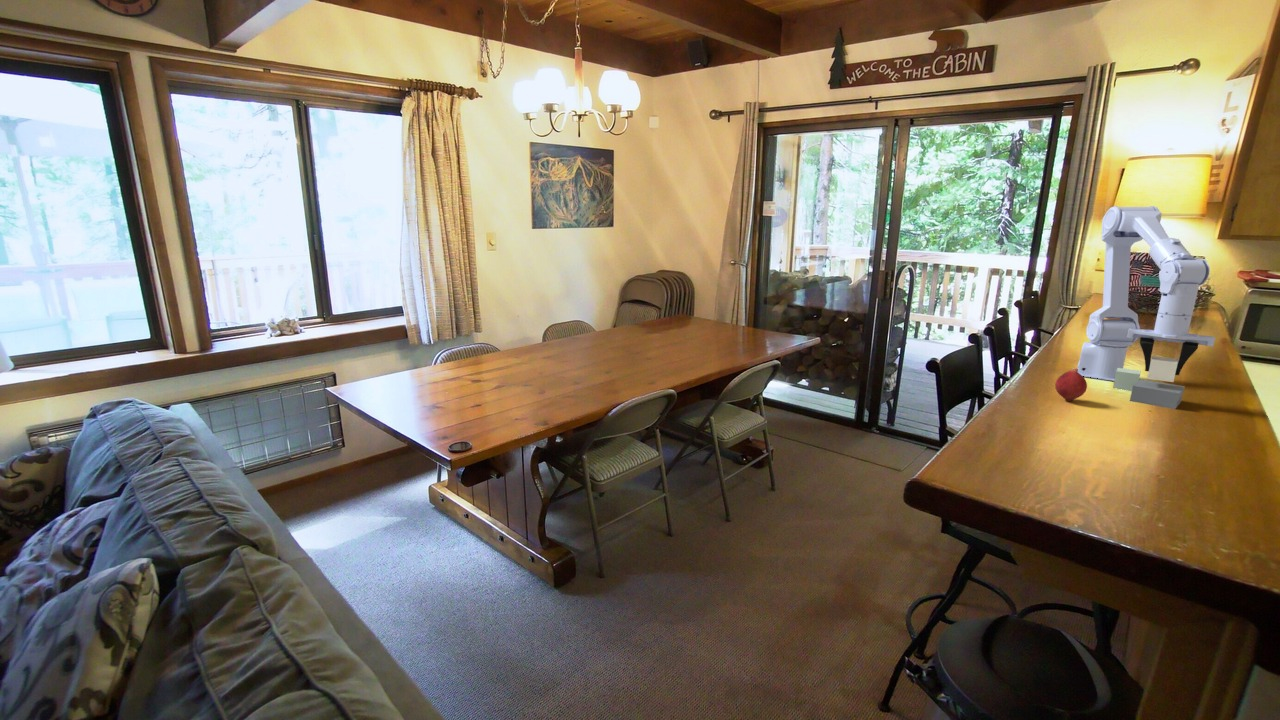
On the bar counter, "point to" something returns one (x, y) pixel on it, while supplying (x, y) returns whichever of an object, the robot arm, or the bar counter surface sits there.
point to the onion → (1071, 385)
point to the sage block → (1126, 378)
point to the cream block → (1162, 369)
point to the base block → (1157, 393)
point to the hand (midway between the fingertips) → (1161, 372)
